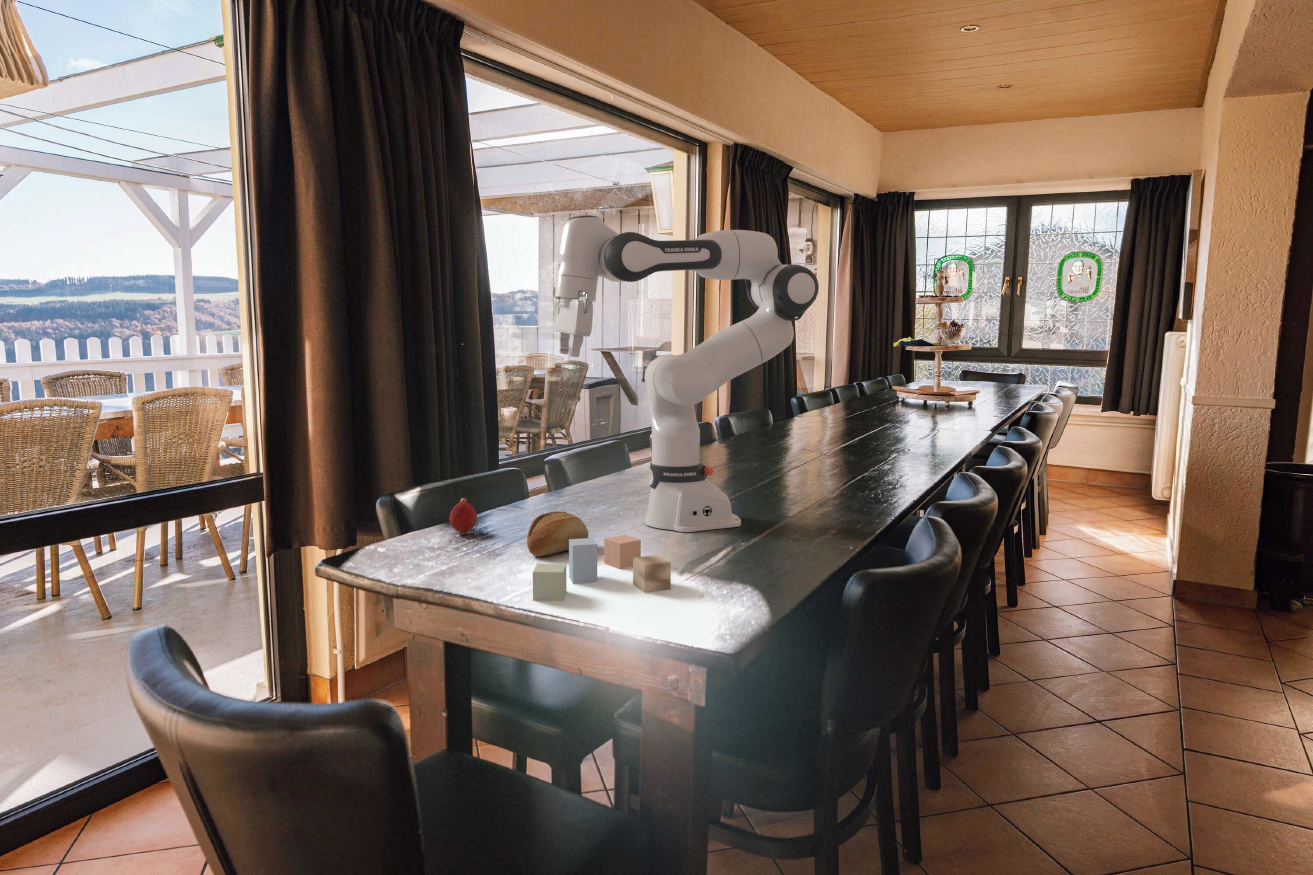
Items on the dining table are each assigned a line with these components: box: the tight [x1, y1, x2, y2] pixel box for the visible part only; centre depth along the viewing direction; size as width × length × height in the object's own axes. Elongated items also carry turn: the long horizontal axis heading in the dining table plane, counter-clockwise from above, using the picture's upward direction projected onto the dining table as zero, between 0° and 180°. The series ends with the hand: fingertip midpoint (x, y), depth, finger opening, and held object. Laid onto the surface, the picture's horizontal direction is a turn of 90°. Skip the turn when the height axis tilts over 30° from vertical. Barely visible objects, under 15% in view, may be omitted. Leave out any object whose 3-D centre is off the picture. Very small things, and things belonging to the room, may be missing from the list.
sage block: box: [532, 563, 567, 602], centre depth 140 cm, size 5×5×5 cm
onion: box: [448, 497, 478, 534], centre depth 181 cm, size 6×6×8 cm
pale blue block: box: [568, 537, 598, 585], centre depth 149 cm, size 4×4×7 cm
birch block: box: [632, 554, 672, 594], centre depth 145 cm, size 5×5×5 cm
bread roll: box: [526, 511, 589, 557], centre depth 168 cm, size 10×15×8 cm, turn 144°
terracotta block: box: [603, 534, 642, 570], centre depth 159 cm, size 5×5×5 cm
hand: (568, 355), depth 181 cm, fingers open, 8 cm apart
